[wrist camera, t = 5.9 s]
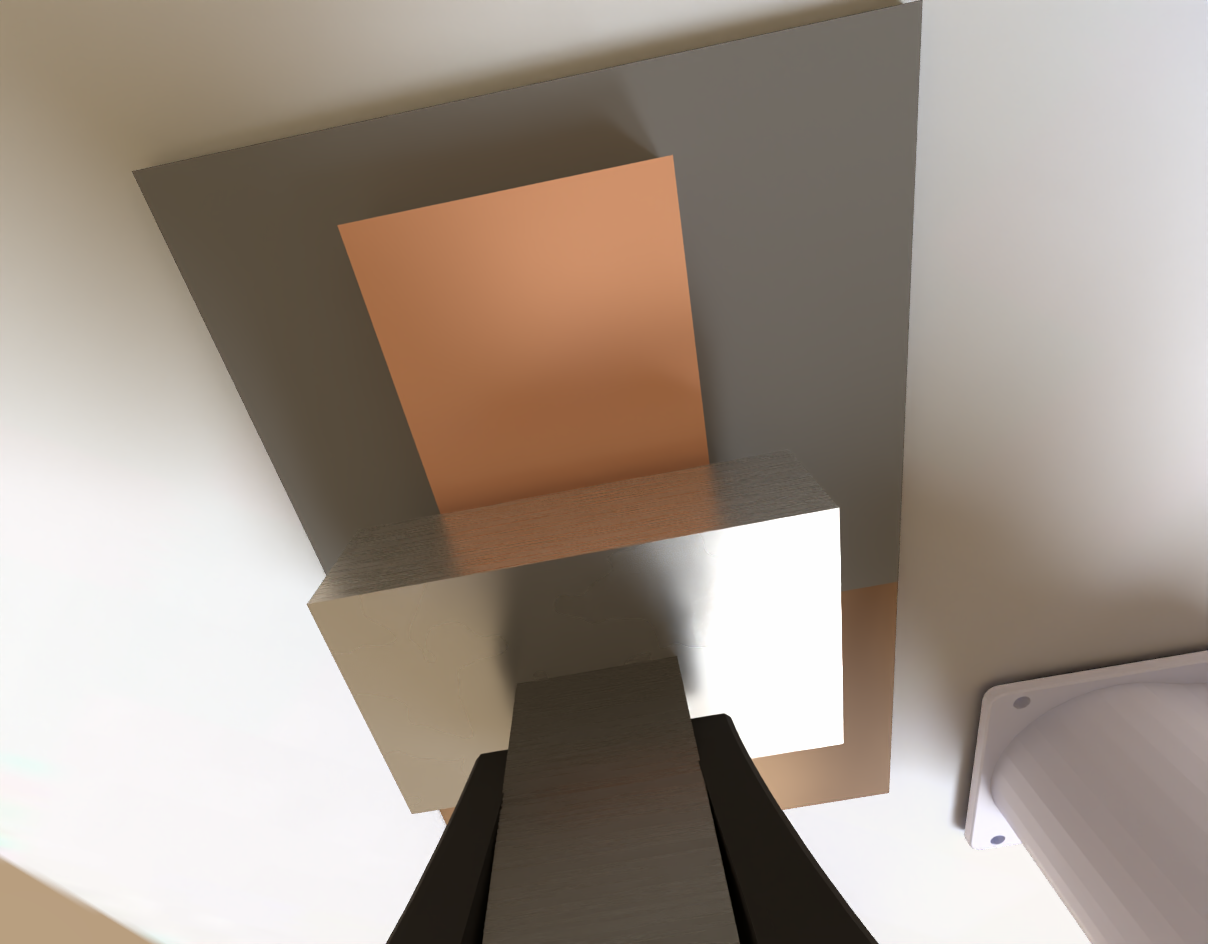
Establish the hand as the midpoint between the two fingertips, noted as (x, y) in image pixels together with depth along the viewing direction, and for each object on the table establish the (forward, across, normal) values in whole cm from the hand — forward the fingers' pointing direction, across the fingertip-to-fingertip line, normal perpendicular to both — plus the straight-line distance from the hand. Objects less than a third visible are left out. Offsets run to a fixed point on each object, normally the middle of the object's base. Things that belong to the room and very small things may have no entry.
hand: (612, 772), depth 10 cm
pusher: (+4, 0, -1) cm, 4 cm away
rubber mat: (+6, 0, -4) cm, 8 cm away
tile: (+5, 0, -3) cm, 6 cm away
